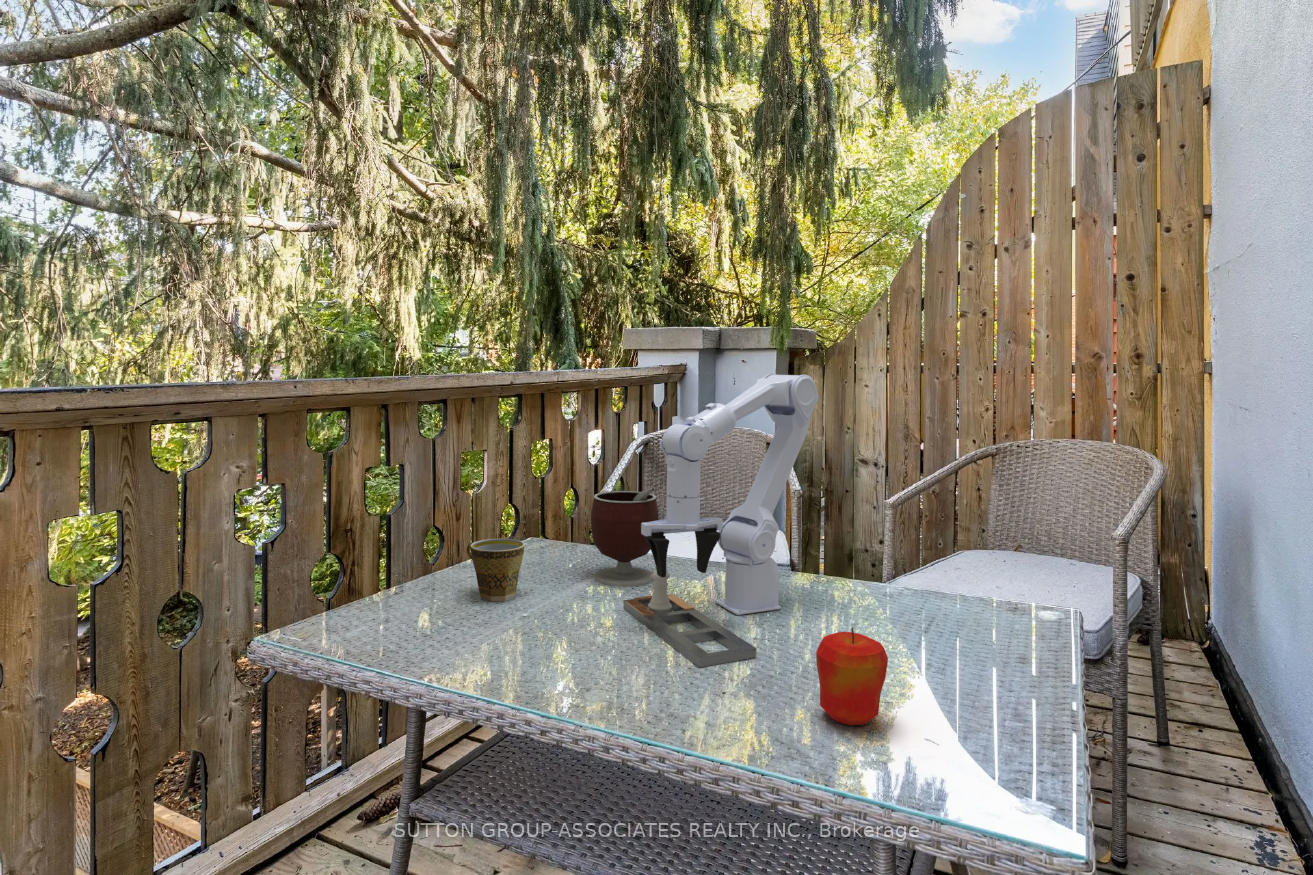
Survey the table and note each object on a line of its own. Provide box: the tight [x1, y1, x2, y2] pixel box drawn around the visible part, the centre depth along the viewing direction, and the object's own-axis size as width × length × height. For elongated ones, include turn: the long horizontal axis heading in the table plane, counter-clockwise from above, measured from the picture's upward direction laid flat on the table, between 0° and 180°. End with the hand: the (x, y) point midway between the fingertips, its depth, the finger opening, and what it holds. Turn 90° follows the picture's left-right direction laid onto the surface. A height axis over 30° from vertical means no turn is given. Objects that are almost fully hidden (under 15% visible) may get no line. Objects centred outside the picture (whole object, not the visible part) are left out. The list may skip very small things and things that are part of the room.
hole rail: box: [622, 593, 757, 668], centre depth 125 cm, size 10×29×2 cm, turn 25°
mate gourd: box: [590, 487, 660, 587], centre depth 154 cm, size 16×14×20 cm
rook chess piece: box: [647, 568, 673, 614], centre depth 133 cm, size 4×4×8 cm
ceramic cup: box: [466, 538, 526, 603], centre depth 142 cm, size 13×10×10 cm
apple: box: [815, 627, 889, 726], centre depth 94 cm, size 9×8×12 cm
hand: (681, 573), depth 129 cm, fingers open, 7 cm apart
